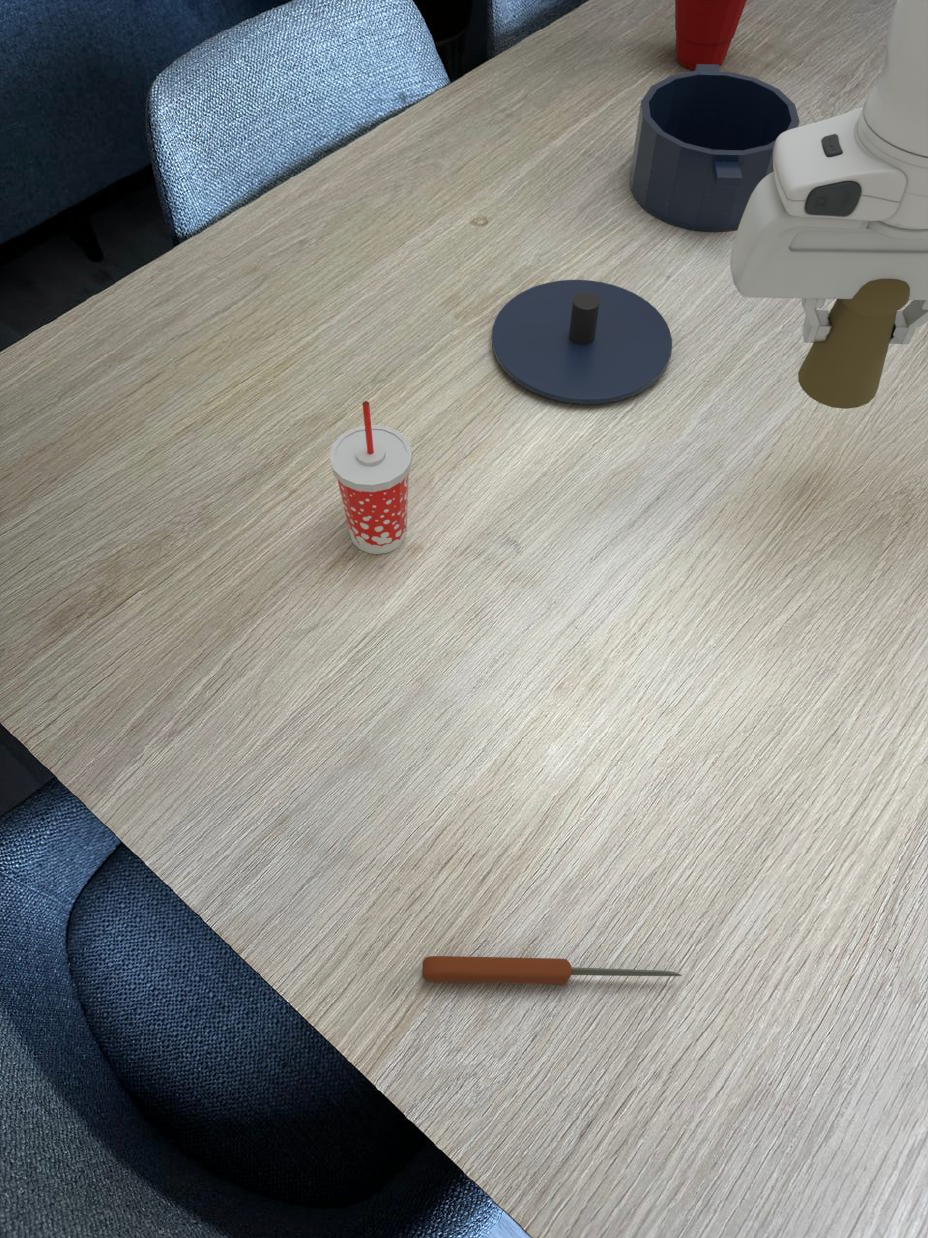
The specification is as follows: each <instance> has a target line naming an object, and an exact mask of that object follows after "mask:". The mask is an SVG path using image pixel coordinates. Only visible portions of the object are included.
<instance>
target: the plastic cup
mask: <svg viewBox="0 0 928 1238" xmlns="http://www.w3.org/2000/svg"><path fill="white" fill-rule="evenodd" d="M747 1H748V0H674V29H675V54H676V55H675V56H676V57H675V58H676V59H677V63H678V64H680V65H681V66H682V67H684V68H686V69H689V70H692V71H695V70H696V64H715V65H719V67H721V66H722V65H723V63H724V61H725V59H726V56H727V54H728V52H729V48H730V46H731V43H732V40H733V39H734V37H735V34H736V32H737V28H738V26H739V23H740V20H741V18H742V15H743V12H744V9H745V6H746V4H747Z"/></svg>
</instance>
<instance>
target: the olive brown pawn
mask: <svg viewBox="0 0 928 1238" xmlns="http://www.w3.org/2000/svg"><path fill="white" fill-rule="evenodd" d="M909 296H910V287H909V285H908V283H907V282H905V281H902V280H899V279H878V280H873V281H869V282H868V283H866V284H865V285H863V286H862V287H861V288H860V289H859V291H858V292H857V293H856V294H855V295H854V297H853V298H852V299H835V302H833V303H834V304H833V305H832V307H831V309H830V311H829V312H828V313H829V320H830V321H831V325H832V328H831V330H830V333H829V334H828V335H827V338H828V339H827V341H826V342H825V343H812V345H811V346H810V348H809V350H808V352H807V354H806V356H805V358H804V360H803V362H802V363H801V365H800V367H799V370H798V372H797V382H798V383H799V385H800V388H801V389H802V391H803V392H804V393H805V394H806V395H807V396H808V397H809V398H810V399H812V400H814V401H816V402H818V403H819V404H821V405H824V406H827V407H830V408H833V409H834V408H835V409H842V410H843V409H845V410H848V409H855V408H856V409H857V408H860V407H862V406H865V405H867V404H869V403H870V402H871V401H872V400H874V398H875V397H876V395H877V393H878V390H879V386H880V382H881V378H882V376H883V375H882V374H883V370H884V366H885V364H886V363H885V362H886V358H887V355H888V350H889V347H890V344H889V342H890V338H891V334H892V330H893V326H894V322H895V318H896V314H897V311H901V309H902V308H903V307H905V306H906V305H907V303H908V302H909V301H910V300H908V299H909Z"/></svg>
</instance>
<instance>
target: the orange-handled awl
mask: <svg viewBox="0 0 928 1238" xmlns="http://www.w3.org/2000/svg"><path fill="white" fill-rule="evenodd" d="M421 969H422V970H421V976H422V978H423V980H424V981H426V982H428V983H429V982H430V983H441V984H506V985H507V984H509V985H510V984H514V985H517V984H518V985H521V984H522V985H524V984H525V985H549V986H550V985H551V986H565V985H566V984H568V982H569V980H570V979H571V977H572V976H606V977H608V976H609V977H611V976H612V977H614V976H615V977H682V976H683V975H682V974H680V973H679V972H676V971H671V970H660V969H658V970H656V969H631V968H629V969H627V968H603V967H600V968H599V967H577V966H576V967H572V965H571V962H569V960H567V959H566V958H551V957H549V958H548V957H513V956H512V957H510V956H508V957H507V956H505V957H504V956H503V957H502V956H461V955H460V956H457V955H456V956H454V955H452V956H451V955H430V956H426V957H424V958H423V960H422V968H421Z"/></svg>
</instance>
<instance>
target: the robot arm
mask: <svg viewBox="0 0 928 1238" xmlns="http://www.w3.org/2000/svg"><path fill="white" fill-rule="evenodd" d="M773 171H774V172H772V173H770V174H768V175H767V176H766V177H764V178H763V179H762V180H761V181H760V182H759V184H758V185H757V186H756V188H755V189H754V191H753V193H752V194H751V196H750V199H749V201H748V203H747V206H746V208H745V211H744V213H743V216H742V219H741V221H740V224H739V227H738V229H736V234H735V236H734V240H733V244H732V248H731V251H730V261H729V262H730V263H729V264H730V273H731V279H732V281H733V285H734V286H735V288H736V290H737V292H739V294H740V295H741V296H742V297H744V298H747V299H800V302H801V306H802V309H803V311H804V314H805V318H804V320H803V324H802V330H801V331H802V337H803V342H804V343H806V344H813V343H825V342H826V341H827V339H828V338H827V335H828V334H829V333H830V330H831V328H832V325H831V321H830V320H829V313H830V312H829V310H825V309H822V308H823V307H824V306H825V303H826V300H837V299H852V298H853V297H854V295H855V294H856V293H857V292H858V291H859V289H860V288H861V287H862V286H863V285H865V284H866V283H868V282H869V281H873V280H878V279H899V280H902V281H905V282H907V283H908V285H909V287H910V296H909V299H908V300H909V301H911V302H910V303H909V304H908V305H907V306H906V307H904V308H903V309H902V310H898V311H897V314H896V318H895V322H894V326H893V330H892V334H891V338H890V342H889V345H909V344H910V343H911V341H912V338H913V336H914V334H915V332H916V329H917V328H918V329H919V327H921V326H923V324H925V323H926V322H928V0H896V3H895V6H894V9H893V12H892V16H891V19H890V21H889V24H888V29H887V32H886V38H885V58H884V62H883V66H882V69H881V71H880V74H879V76H878V77H877V79H876V81H875V83H874V84H873V85H872V86H871V88H870V90H869V92H868V93H867V95H866V97H865V101H864V103H863V106H860V107H858V108H855V109H853V110H850V111H848V112H845V113H842V114H839V115H836V116H832V117H830V118H826V119H823V120H819V121H816V122H813V123H808V124H805V125H801V126H798V127H797V128H793V129H790V130H787V131H785V132H783V133H781V134H780V135H779V136H778V137H777V139H776V141H775V144H774V149H773Z"/></svg>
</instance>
